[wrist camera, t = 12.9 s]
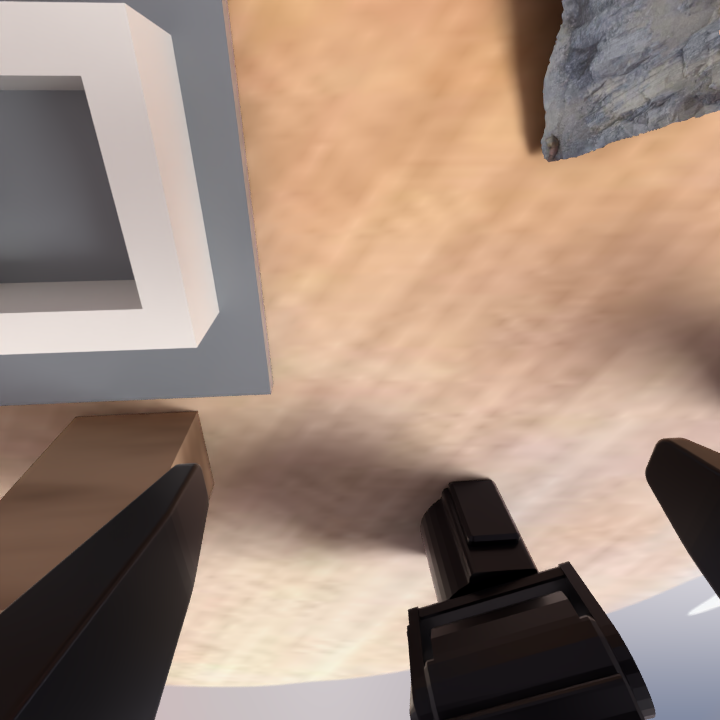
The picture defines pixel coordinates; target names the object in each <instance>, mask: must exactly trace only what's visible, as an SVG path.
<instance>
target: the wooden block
mask: <svg viewBox="0 0 720 720" xmlns="http://www.w3.org/2000/svg"><path fill="white" fill-rule="evenodd" d="M186 463H197V464H199V465H200V466H201V468H202V471H203V475H204V479H205V484H206V488H207V492H208V498H209V499H210V496H211V493H212V490H213V486H214V481H213V476H212V472H211V467H210V463H209V459H208V454H207V450H206V446H205V441H204V437H203V432H202V428H201V424H200V419H199V415H198V411H193V412H171V413H149V414H128V415H106V416H85V417H75V419H74V420H73V421H72V422H71V423H70V424H69V425H68V426H67V427H66V428H65V430H64V431H63V432H62V433H61V434H60V435H59V436H58V437H57V438H56V439H55V441H54V442H53V443H52V444H51V445H50V446H49V447H48V448H47V449H46V450H45V452H44V453H43V454H42V455H41V456H40V457H39V458H38V459H37V460H36V461H35V463H34V464H33V465H32V466H31V467H30V468H29V469H28V470H27V471H26V472H25V474H24V475H23V476H22V477H21V478H20V479H19V480H18V481H17V482H16V483H15V485H14V486H13V487H12V488H11V489H10V490H9V491H8V492H7V493H6V494H5V496H4V497H3V498H2V499H1V500H0V613H1V612H2V611H3V610H4V609H6V608H7V607H8V606H9V605H10V604H11V603H13V602H14V601H15V600H16V599H17V598H19V597H20V596H21V595H22V594H23V593H24V592H26V591H27V590H28V589H29V588H30V587H32V586H33V585H34V584H35V583H36V582H38V581H39V580H40V579H41V578H42V577H43V576H45V575H46V574H47V573H48V572H49V571H51V570H52V569H53V568H54V567H55V566H56V565H58V564H59V563H60V562H61V561H62V560H64V559H65V558H66V557H67V556H68V555H69V554H71V553H72V552H73V551H74V550H75V549H77V548H78V547H79V546H80V545H81V544H82V543H84V542H85V541H86V540H87V539H88V538H90V537H91V536H92V535H93V534H94V533H95V532H97V531H98V530H99V529H100V528H101V527H103V526H104V525H105V524H106V523H107V522H108V521H110V520H111V519H112V518H113V517H114V516H116V515H117V514H118V513H119V512H120V511H121V510H123V509H124V508H125V507H126V506H127V505H129V504H130V503H131V502H132V501H133V500H134V499H136V498H137V497H138V496H139V495H140V494H142V493H143V492H144V491H145V490H146V489H147V488H149V487H150V486H151V485H152V484H153V483H155V482H156V481H157V480H158V479H159V478H160V477H162V476H163V475H164V474H165V473H166V472H168V471H169V470H170V469H171V468H172V467H174V466H175V465H177V464H186Z"/></svg>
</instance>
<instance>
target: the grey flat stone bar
mask: <svg viewBox="0 0 720 720" xmlns="http://www.w3.org/2000/svg"><path fill="white" fill-rule="evenodd" d="M562 5H563V8H564V11H563V13H562V19H563V23H562V24H561V25H560V27H561V29H560V31H559V33H558V35H557V36H556V38H557V40H556V41H555V42H556V44H555V45H554V49H553V52H552V54H551V56H550V59H549V61H550V63H549V65H548V67H547V68H548V69H547V72H546V75H545V78H544V89H543V93H544V95H543V99H544V100H543V103H544V110H545V111H546V114H545V123H546V127H545V129H544V134H543V137H542V139H541V144H542V147H541V148H542V153H543V155H544V159H546V160H547V161H548V162H551V161H555V160H556V161H559V160H560V159H568V158H571V157H577V156H580V155H583V154H585V153H589V152H590V151H592V150H593V151H595V150H596V149H598V148H603V147H604V146H605V145H607V144H608V143H611V142H615V141H618V140H621V139H625V138H629V137H630V138H631V137H632V136H638V135H639V134H640V133H643V134H644V133H646V132H647V131H649V132H650V131H651V130H652V131H653V130H654V129H655V130H657V129H658V128H659V129H660V128H662V127H665V126H667V125H669V124H671V123H674V122H681V121H685V120H688V119H690V118H692V117H696V118H698V117H701V116H703V115H705V114H708V113H711V112H716V111H718V110H720V35H719V30H720V0H562Z"/></svg>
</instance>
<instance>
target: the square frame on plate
mask: <svg viewBox="0 0 720 720" xmlns="http://www.w3.org/2000/svg"><path fill="white" fill-rule="evenodd" d="M272 387H273V376H272V368H271V359H270V351H269V343H268V334H267V326H266V318H265V309H264V301H263V293H262V284H261V276H260V268H259V259H258V251H257V243H256V234H255V226H254V218H253V209H252V201H251V192H250V184H249V176H248V167H247V159H246V151H245V142H244V134H243V126H242V117H241V109H240V101H239V92H238V84H237V76H236V67H235V59H234V51H233V42H232V34H231V26H230V17H229V9H228V1H227V0H0V406H8V405H31V404H54V403H77V402H100V401H123V400H147V399H170V398H193V397H216V396H239V395H262V394H271V392H272Z"/></svg>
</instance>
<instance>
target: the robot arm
mask: <svg viewBox="0 0 720 720" xmlns="http://www.w3.org/2000/svg"><path fill="white" fill-rule="evenodd" d="M645 475H646V479H647V482H648V484H649V486H650V487H651V489H652V491H653V493H654V494H655V496H656V498H657V500H658V501H659V503H660V505H661V507H662V508H663V510H664V512H665V514H666V515H667V517H668V519H669V521H670V522H671V524H672V526H673V528H674V529H675V531H676V533H677V535H678V536H679V538H680V540H681V542H682V543H683V545H684V547H685V548H686V550H687V552H688V553H689V555H690V556H691V558H692V559H693V561H694V562H695V564H696V565H697V567H698V568H699V570H700V571H701V573H702V574H703V575H704V577H705V578H706V580H707V581H708V582H709V584H710V586H711V587H712V588H713V590H714V591H715V593H716V594H717V596H718V597H719V599H720V453H718V452H716V451H713V450H711V449H709V448H706V447H704V446H702V445H699V444H697V443H694V442H692V441H690V440H687V439H684V438H665V439H661V440H659V441H658V442H657V444H656V445H655V448H654V450H653V453H652V455H651V458H650V460H649V462H648V465H647V467H646V471H645ZM208 504H209V498H208V492H207V488H206V484H205V479H204V475H203V471H202V468H201V466H200V465H199V464H197V463H186V464H177V465H175V466H174V467H172V468H171V469H170V470H169V471H168V472H166V473H165V474H164V475H163V476H162V477H160V478H159V479H158V480H157V481H156V482H155V483H153V484H152V485H151V486H150V487H149V488H147V489H146V490H145V491H144V492H143V493H142V494H140V495H139V496H138V497H137V498H136V499H134V500H133V501H132V502H131V503H130V504H129V505H127V506H126V507H125V508H124V509H123V510H121V511H120V512H119V513H118V514H117V515H116V516H114V517H113V518H112V519H111V520H110V521H108V522H107V523H106V524H105V525H104V526H103V527H101V528H100V529H99V530H98V531H97V532H95V533H94V534H93V535H92V536H91V537H90V538H88V539H87V540H86V541H85V542H84V543H82V544H81V545H80V546H79V547H78V548H77V549H75V550H74V551H73V552H72V553H71V554H69V555H68V556H67V557H66V558H65V559H64V560H62V561H61V562H60V563H59V564H58V565H56V566H55V567H54V568H53V569H52V570H51V571H49V572H48V573H47V574H46V575H45V576H43V577H42V578H41V579H40V580H39V581H38V582H36V583H35V584H34V585H33V586H32V587H30V588H29V589H28V590H27V591H26V592H24V593H23V594H22V595H21V596H20V597H19V598H17V599H16V600H15V601H14V602H13V603H11V604H10V605H9V606H8V607H7V608H6V609H4V610H3V611H2V612H1V613H0V720H155V717H156V713H157V710H158V707H159V703H160V700H161V696H162V693H163V689H164V686H165V683H166V680H167V676H168V673H169V669H170V666H171V663H172V659H173V656H174V653H175V649H176V646H177V643H178V639H179V636H180V632H181V629H182V626H183V622H184V619H185V616H186V612H187V609H188V605H189V602H190V598H191V595H192V591H193V587H194V582H195V577H196V572H197V566H198V561H199V555H200V550H201V544H202V539H203V533H204V528H205V522H206V517H207V511H208ZM421 535H422V539H423V543H424V547H425V551H426V555H427V559H428V563H429V568H430V572H431V576H432V580H433V584H434V588H435V592H436V596H437V601H438V603H435V604H432V605H428V606H425V607H422V608H418V607H415V608H412V609H408V615H409V625H408V626H407V637H408V645H409V658H410V672H411V694H410V718H411V720H646V719H650V718H654V717H655V709H654V705H653V702H652V699H651V696H650V694H649V692H648V689H647V687H646V684H645V682H644V680H643V678H642V676H641V673H640V671H639V669H638V667H637V665H636V663H635V661H634V660H633V657H632V656H631V654H630V652H629V650H628V648H627V646H626V645H625V643H624V641H623V640H622V638H621V636H620V634H619V633H618V631H617V630H616V628H615V627H614V625H613V624H612V622H611V621H610V619H609V618H608V617H607V615H606V614H605V612H604V611H603V609H602V608H601V606H600V605H599V604H598V602H597V601H596V599H595V598H594V596H593V595H592V594H591V592H590V591H589V589H588V588H587V586H586V585H585V584H584V582H583V581H582V579H581V578H580V576H579V575H578V574H577V572H576V571H575V569H574V568H573V566H572V565H571V564H570V562H569V561H568V562H565V563H561V564H558V567H555V568H552V569H548V570H545V571H542V572H538V569H537V567H536V565H535V563H534V561H533V559H532V557H531V555H530V553H529V551H528V549H527V547H526V545H525V543H524V541H523V539H522V537H521V535H520V533H519V531H518V529H517V527H516V525H515V523H514V521H513V519H512V517H511V515H510V513H509V511H508V509H507V507H506V505H505V503H504V501H503V498H502V496H501V494H500V492H499V490H498V488H497V486H496V484H495V483H494V482H493V481H492V480H481V481H463V482H452V483H450V484H449V488H447V489H444V490H443V491H442V497H441V499H440V500H439V501H437V502H436V503H434V504H433V505H432V506H431V507H430V508H429V509H428V510H427V512H426V513H425V514H424V516H423V519H422V521H421Z"/></svg>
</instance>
